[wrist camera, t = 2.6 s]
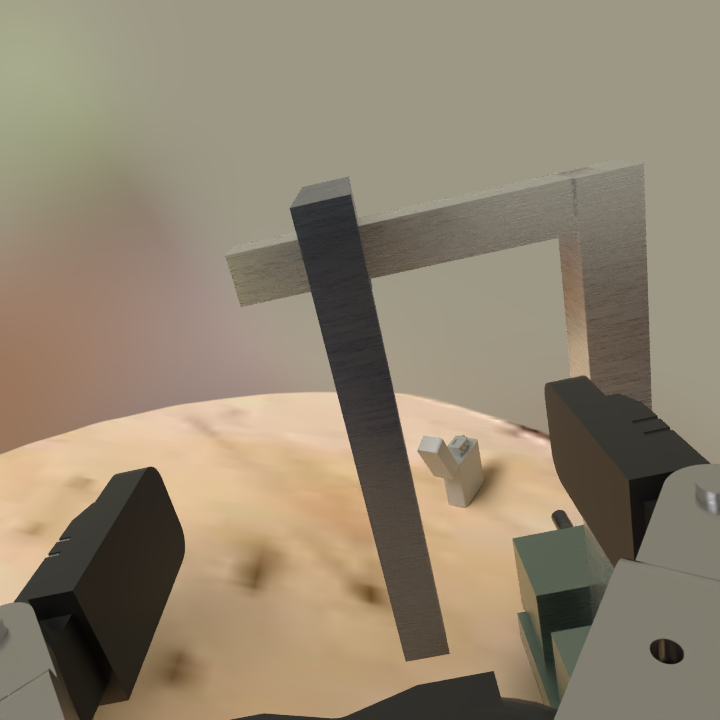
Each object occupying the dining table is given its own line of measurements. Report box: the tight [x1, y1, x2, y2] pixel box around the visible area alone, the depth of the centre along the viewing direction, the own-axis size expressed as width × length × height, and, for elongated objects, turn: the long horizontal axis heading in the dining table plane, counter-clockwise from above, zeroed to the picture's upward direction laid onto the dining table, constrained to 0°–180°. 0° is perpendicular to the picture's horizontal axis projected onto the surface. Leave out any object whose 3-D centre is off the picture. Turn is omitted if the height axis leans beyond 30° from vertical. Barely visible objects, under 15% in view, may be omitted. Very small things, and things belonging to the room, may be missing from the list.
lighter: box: [418, 435, 484, 508], centre depth 49 cm, size 7×2×8 cm, turn 147°
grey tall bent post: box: [225, 160, 652, 709], centre depth 29 cm, size 16×18×28 cm
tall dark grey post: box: [290, 177, 450, 662], centre depth 25 cm, size 6×2×20 cm, turn 1°
